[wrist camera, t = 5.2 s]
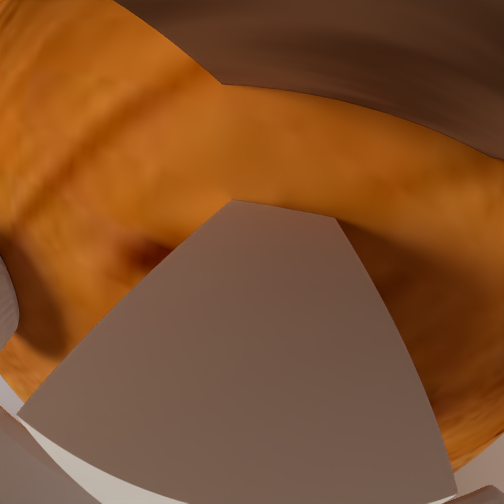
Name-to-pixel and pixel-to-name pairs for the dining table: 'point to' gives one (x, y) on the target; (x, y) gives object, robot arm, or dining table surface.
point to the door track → (356, 54)
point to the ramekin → (7, 306)
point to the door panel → (246, 379)
